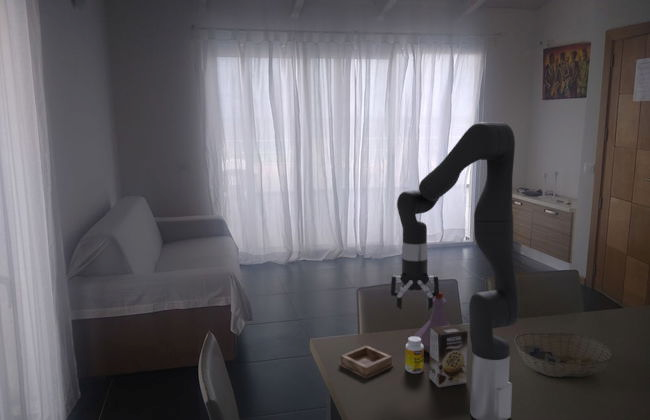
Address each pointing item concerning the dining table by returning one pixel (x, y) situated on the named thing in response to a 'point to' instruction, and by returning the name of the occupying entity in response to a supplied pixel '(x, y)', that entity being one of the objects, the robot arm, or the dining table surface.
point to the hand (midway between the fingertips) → (414, 308)
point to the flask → (433, 321)
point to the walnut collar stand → (366, 361)
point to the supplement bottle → (414, 355)
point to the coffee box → (448, 355)
